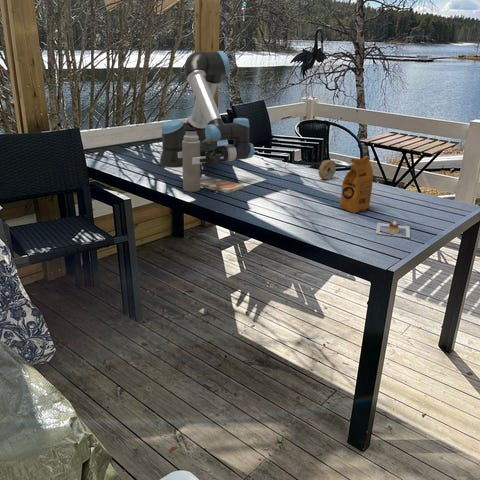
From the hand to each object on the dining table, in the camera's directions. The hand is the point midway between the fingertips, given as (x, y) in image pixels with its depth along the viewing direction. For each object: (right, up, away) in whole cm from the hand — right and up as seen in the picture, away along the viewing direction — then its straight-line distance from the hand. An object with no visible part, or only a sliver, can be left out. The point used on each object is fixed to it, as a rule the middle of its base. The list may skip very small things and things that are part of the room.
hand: (185, 158), depth 223 cm
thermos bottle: (+2, -13, +7) cm, 16 cm away
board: (+13, -11, +14) cm, 22 cm away
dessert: (+82, -34, -37) cm, 96 cm away
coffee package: (+73, -24, -13) cm, 78 cm away
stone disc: (+69, -6, +31) cm, 76 cm away
